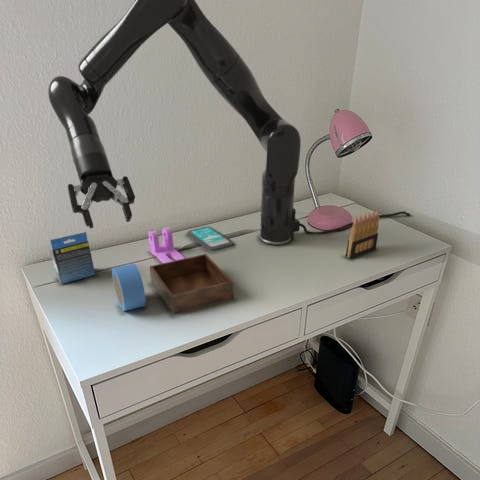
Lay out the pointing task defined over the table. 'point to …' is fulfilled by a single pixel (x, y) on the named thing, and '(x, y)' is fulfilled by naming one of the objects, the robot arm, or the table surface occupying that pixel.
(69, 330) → the table surface
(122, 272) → the tape roll
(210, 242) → the smartphone
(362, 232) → the ammunition clip
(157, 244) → the bracket
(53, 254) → the blue retail box
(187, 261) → the wooden box
